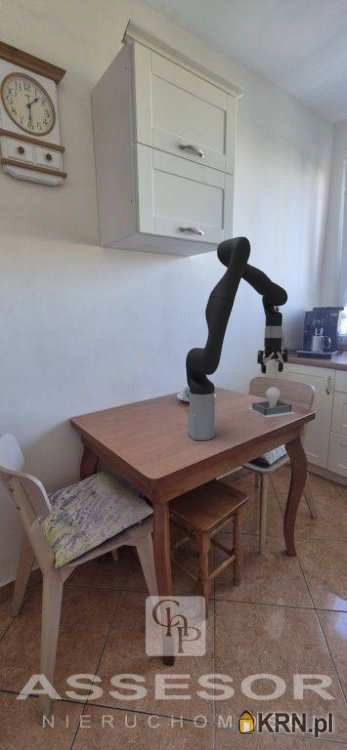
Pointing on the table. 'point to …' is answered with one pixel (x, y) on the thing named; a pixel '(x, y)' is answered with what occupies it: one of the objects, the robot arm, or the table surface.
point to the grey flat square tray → (272, 409)
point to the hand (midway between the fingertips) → (272, 372)
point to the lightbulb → (273, 396)
